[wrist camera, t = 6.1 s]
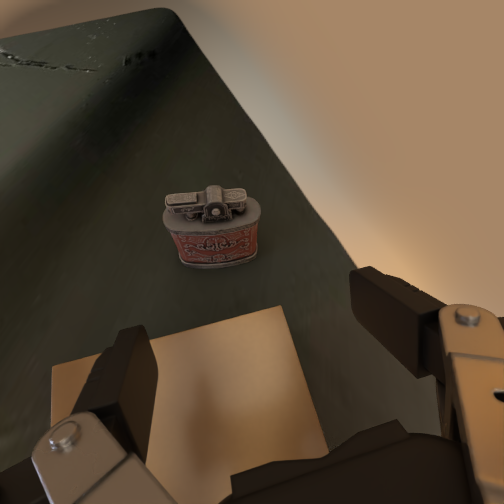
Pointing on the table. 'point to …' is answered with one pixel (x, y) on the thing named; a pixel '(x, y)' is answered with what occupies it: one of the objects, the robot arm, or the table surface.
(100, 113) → the table surface
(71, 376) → the shelf rack
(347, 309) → the table surface
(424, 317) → the robot arm
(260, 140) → the table surface
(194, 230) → the lighter
